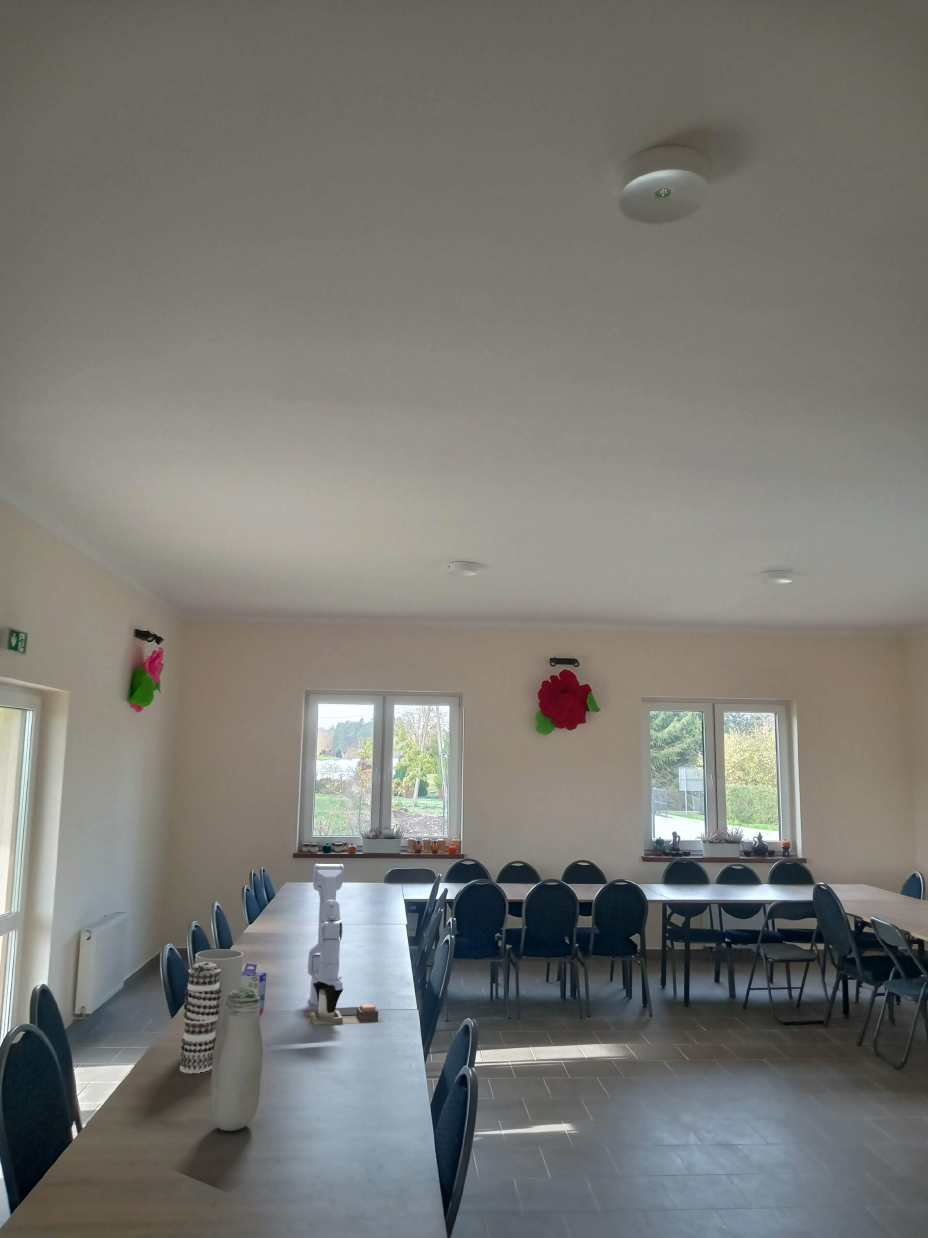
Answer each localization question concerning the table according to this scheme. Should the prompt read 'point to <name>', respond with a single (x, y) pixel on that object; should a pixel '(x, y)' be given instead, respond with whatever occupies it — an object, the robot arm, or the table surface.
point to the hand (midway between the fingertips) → (326, 1010)
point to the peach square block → (367, 1007)
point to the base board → (343, 1018)
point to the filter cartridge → (323, 1006)
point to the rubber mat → (347, 1011)
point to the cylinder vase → (224, 974)
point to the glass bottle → (237, 1062)
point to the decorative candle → (200, 1018)
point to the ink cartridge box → (255, 982)
